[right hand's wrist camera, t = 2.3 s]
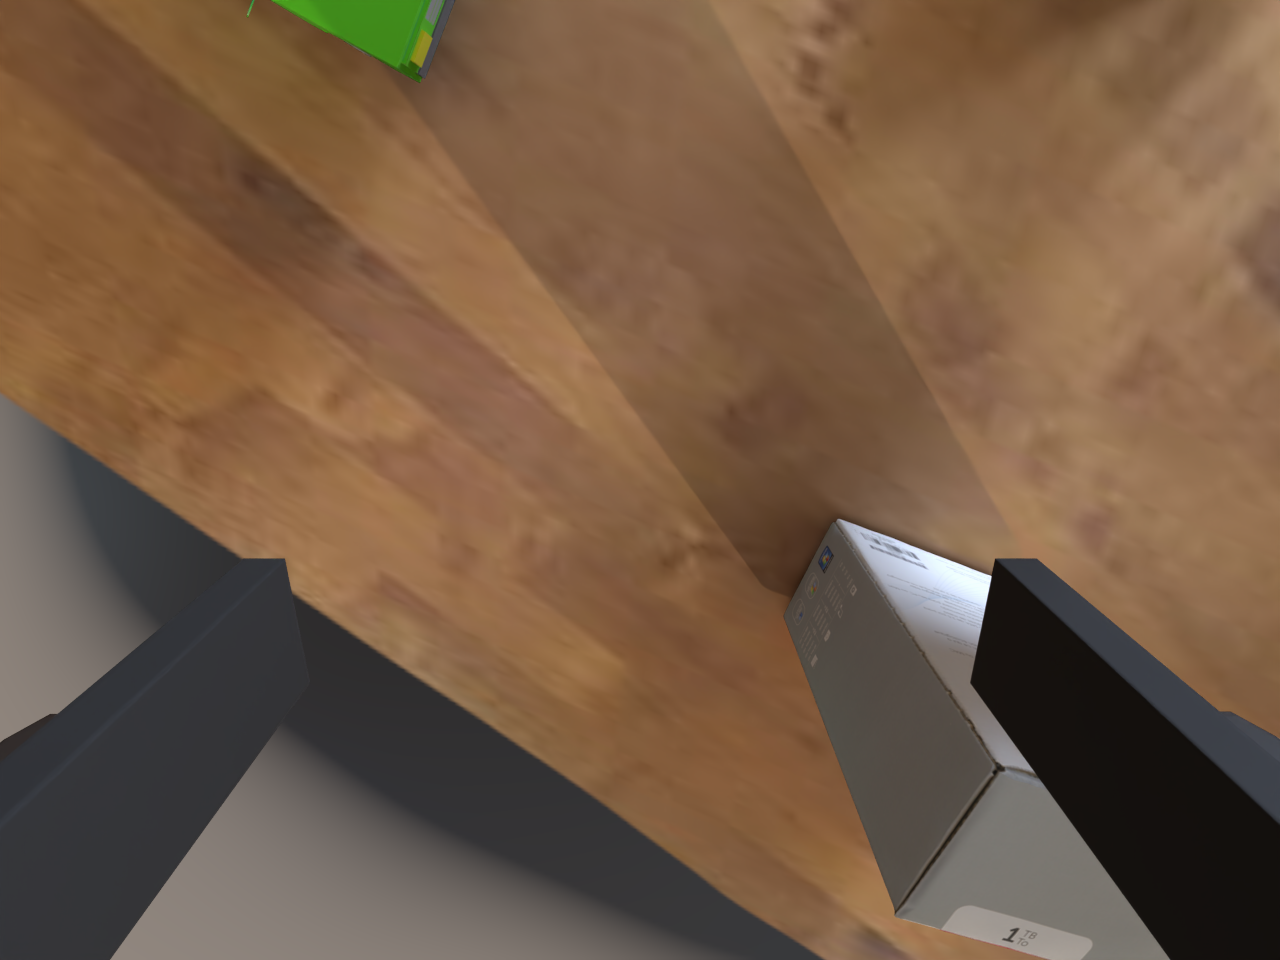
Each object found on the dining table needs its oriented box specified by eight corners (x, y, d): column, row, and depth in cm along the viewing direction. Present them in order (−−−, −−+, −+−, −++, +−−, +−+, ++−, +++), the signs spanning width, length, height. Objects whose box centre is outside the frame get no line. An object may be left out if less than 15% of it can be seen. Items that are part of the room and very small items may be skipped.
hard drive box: (778, 617, 43) (884, 917, 24) (833, 513, 41) (998, 758, 22) (991, 690, 45) (1241, 1020, 26) (1056, 596, 42) (1383, 885, 24)
